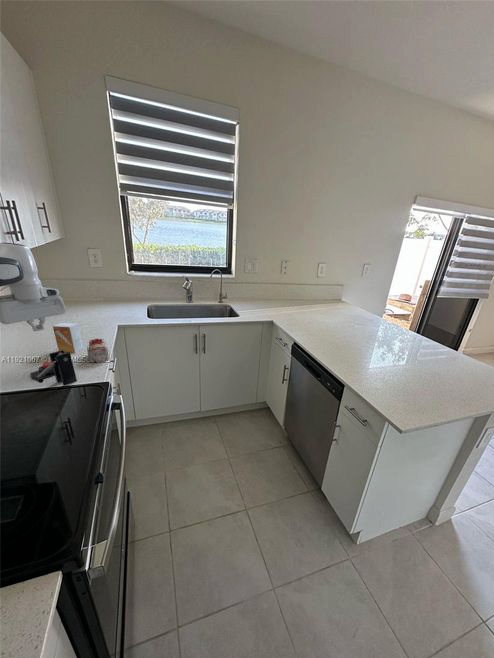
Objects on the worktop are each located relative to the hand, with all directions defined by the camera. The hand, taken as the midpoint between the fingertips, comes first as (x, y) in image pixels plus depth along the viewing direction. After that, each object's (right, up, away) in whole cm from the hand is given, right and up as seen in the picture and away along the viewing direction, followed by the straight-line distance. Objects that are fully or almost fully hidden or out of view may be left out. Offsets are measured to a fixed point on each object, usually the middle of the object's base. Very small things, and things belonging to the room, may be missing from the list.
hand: (38, 330), depth 107 cm
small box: (-11, -7, +34) cm, 36 cm away
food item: (+8, -11, +24) cm, 28 cm away
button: (-1, -14, +6) cm, 15 cm away
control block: (-1, -17, +8) cm, 19 cm away
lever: (+8, -14, -4) cm, 17 cm away
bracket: (+10, -20, +1) cm, 23 cm away
